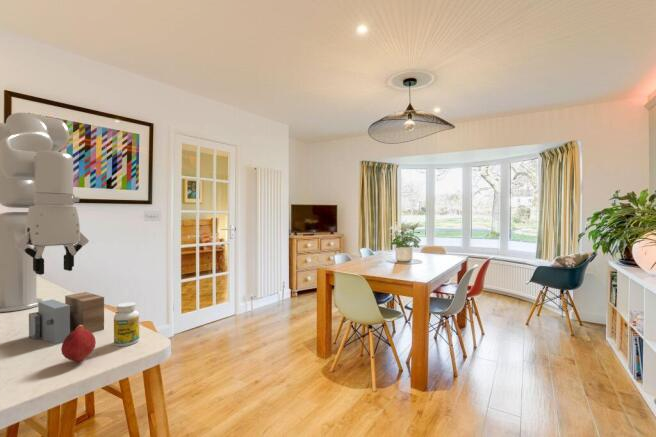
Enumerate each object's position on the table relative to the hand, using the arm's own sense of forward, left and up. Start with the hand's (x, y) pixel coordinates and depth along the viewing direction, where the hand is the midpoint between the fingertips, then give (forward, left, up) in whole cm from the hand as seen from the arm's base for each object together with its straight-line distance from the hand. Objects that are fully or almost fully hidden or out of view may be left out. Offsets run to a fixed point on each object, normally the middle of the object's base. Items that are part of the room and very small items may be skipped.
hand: (54, 271), depth 82 cm
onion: (+20, -3, -17) cm, 27 cm away
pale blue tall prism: (0, 0, -17) cm, 17 cm away
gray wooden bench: (-4, +1, -17) cm, 18 cm away
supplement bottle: (+18, +8, -17) cm, 27 cm away
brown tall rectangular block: (-1, +7, -17) cm, 18 cm away
